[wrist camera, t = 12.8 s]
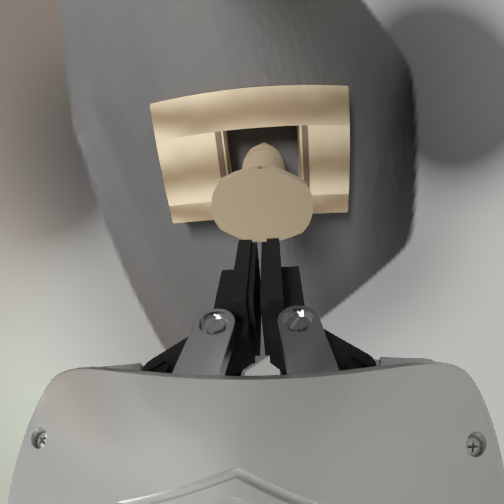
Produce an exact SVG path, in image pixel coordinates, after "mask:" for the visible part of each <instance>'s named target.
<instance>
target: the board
mask: <svg viewBox="0 0 504 504" xmlns="http://www.w3.org/2000/svg"><path fill="white" fill-rule="evenodd" d="M150 109H151V115H152V121H153V127H154V133H155V139H156V144H157V150H158V155H159V160H160V165H161V170H162V175H163V180H164V185H165V189H166V194H167V199H168V203H169V207H170V212H171V216H172V220H173V223H183V222H194V221H206V220H214V218H213V215H212V208H211V204H212V196H213V192H214V190H215V188H216V186H217V184H218V182H219V181H220V179H221V178H223V177H224V176H226V175H229V174H231V173H232V168H231V160H230V152H229V144H228V136H227V131H228V130H238V129H248V128H261V127H276V126H296V128H297V146H298V168H299V178H301V179H303V180H304V181H305V182H306V184H307V185H308V187H309V189H310V192H311V194H312V198H313V214H318V213H343V212H348V200H349V175H350V112H349V89H348V86H339V85H283V86H265V87H252V88H241V89H232V90H224V91H217V92H210V93H203V94H197V95H191V96H186V97H180V98H175V99H171V100H166V101H161V102H157V103H153V104H150Z"/></svg>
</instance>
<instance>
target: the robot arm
mask: <svg viewBox="0 0 504 504" xmlns="http://www.w3.org/2000/svg"><path fill="white" fill-rule="evenodd" d="M261 315H262V325H263V335H264V345H265V354H266V355H270V362H271V363H272V364H273V365H274V366H276V367H277V368H278V369H280V375H270V376H245V368H246V367H248V366H249V365H250V364H252V363H255V356H260V343H261ZM8 504H504V467H503V462H502V457H501V453H500V449H499V445H498V441H497V437H496V433H495V430H494V426H493V423H492V420H491V417H490V415H489V412H488V409H487V407H486V404H485V402H484V399H483V397H482V395H481V393H480V391H479V389H478V387H477V386H476V384H475V382H474V381H473V379H472V378H471V377H470V375H469V374H468V373H467V372H466V371H465V370H463V369H461V368H460V367H457V366H455V365H452V364H448V363H442V362H435V361H432V360H430V359H423V358H391V357H390V358H389V357H381V358H380V360H374V359H373V358H372V357H371V356H370V355H368V354H367V353H365V352H363V351H361V350H360V349H358V348H356V347H354V346H353V345H351V344H349V343H347V342H346V341H344V340H342V339H340V338H338V337H337V336H335V335H333V334H332V333H330V332H328V331H327V330H325V329H323V326H322V324H321V321H320V318H319V316H318V314H317V313H316V312H315V311H314V310H313V309H311V308H309V307H307V306H304V299H303V292H302V285H301V279H300V272H299V267H298V266H293V267H281V257H280V244H279V238H268V239H267V242H262V255H261V280H260V270H259V259H258V249H257V242H255V243H252V239H251V240H239V243H238V249H237V255H236V261H235V267H234V270H223V271H222V273H221V277H220V282H219V286H218V291H217V296H216V300H215V305H214V309H211V310H208V311H206V312H204V313H202V314H201V315H200V316H198V318H197V319H196V321H195V323H194V325H193V328H192V330H191V332H190V334H189V336H188V337H187V338H185V339H184V340H182V341H180V342H179V343H177V344H176V345H174V346H172V347H171V348H169V349H168V350H166V351H164V352H163V353H161V354H159V355H158V356H156V357H155V358H153V359H152V360H150V361H149V362H148V363H146V365H144V366H142V365H141V363H137V364H127V365H116V366H105V367H81V368H76V369H71V370H67V371H64V372H62V373H60V374H58V375H57V376H55V377H54V378H53V379H52V381H51V382H50V383H49V385H48V386H47V388H46V389H45V391H44V393H43V394H42V396H41V398H40V400H39V402H38V404H37V406H36V408H35V411H34V413H33V415H32V418H31V420H30V423H29V425H28V428H27V431H26V433H25V436H24V439H23V442H22V445H21V449H20V451H19V455H18V458H17V461H16V465H15V469H14V473H13V478H12V482H11V487H10V493H9V498H8Z"/></svg>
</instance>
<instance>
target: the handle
mask: <svg viewBox="0 0 504 504" xmlns="http://www.w3.org/2000/svg"><path fill="white" fill-rule="evenodd" d="M211 208H212V215H213V218H214V221H215V222H216V224H217V226H218V227H219V228H220V230H222V231H224V232H226V233H228V234H231V235H233V236H235V237H238V238H240V239H243V240H251V239H252V241H257V242H267V239H268V238H279V241H280V240H284V239H287V238H290V237H293V236H295V235H298V234H301V233H303V232H304V230H305V229H306V228H307V226H308V225H309V223H310V221H311V218H312V214H313V198H312V194H311V192H310V189H309V187H308V185H307V184H306V182H305V181H304V180H303V179H301V178H299V177H297V176H296V175H294V174H292V173H290V172H288V171H285V165H284V161H283V158H282V156H281V154H280V153H279V152H278V150H277V149H275V148H274V147H273V146H271V145H268V143H265V142H262V143H261V144H260V145H257V146H255V147H253V148H251V149H250V151H249V152H248V153H247V155H246V156H245V158H244V161H243V165H242V169H240V170H238V171H235V172H233V173H231V174H229V175H226V176H224V177H223V178H221V179H220V181H219V182H218V184H217V186H216V188H215V190H214V192H213V196H212V204H211Z"/></svg>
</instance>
